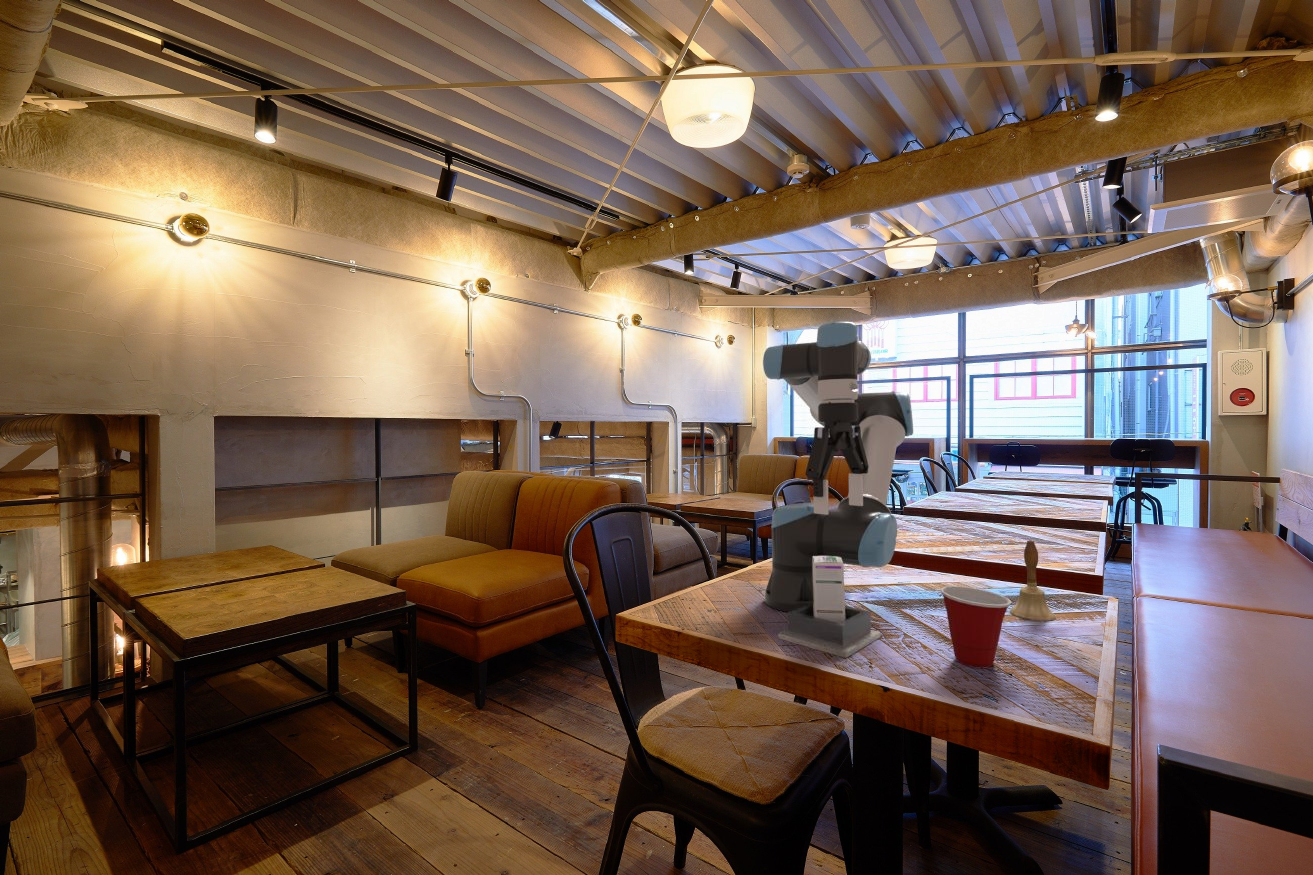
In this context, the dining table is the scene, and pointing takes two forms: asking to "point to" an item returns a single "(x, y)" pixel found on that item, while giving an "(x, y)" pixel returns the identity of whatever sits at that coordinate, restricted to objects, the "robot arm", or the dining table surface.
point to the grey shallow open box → (830, 631)
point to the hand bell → (1032, 591)
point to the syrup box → (828, 588)
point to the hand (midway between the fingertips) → (839, 509)
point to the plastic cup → (974, 623)
